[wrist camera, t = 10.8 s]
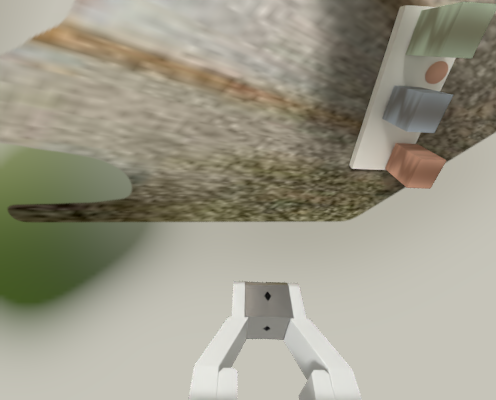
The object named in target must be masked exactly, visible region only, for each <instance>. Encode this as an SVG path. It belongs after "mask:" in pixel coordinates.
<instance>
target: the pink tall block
mask: <svg viewBox="0 0 496 400" xmlns="http://www.w3.org/2000/svg"><path fill="white" fill-rule="evenodd" d="M445 162H446V160H445V159H443V158H442V157H440V156H438V155H436V154H434V153H433V152H431V151H429V150H427V149H425V148H424V147H422V146H420V145H418V144H404V143H396V144H395V146H394V148H393V151H392V153H391V155H390V158H389V160H388V163H387V165H386V167H385V169H386V170H387V171H388V172H389V173H390V174H392V175H393V176H394V177H395V178H396V179H397V180H399V181H400V182H401V183H402V184H403V185H404V186H405V187H407V188H431V187H432V185H433V183H434V181H435V180H436V178H437V176H438V174H439V173H440V171H441V169H442V167H443V166H444V164H445Z"/></svg>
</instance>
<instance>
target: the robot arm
mask: <svg viewBox="0 0 496 400" xmlns="http://www.w3.org/2000/svg"><path fill="white" fill-rule="evenodd" d="M246 339H279V340H284V343H285V344H286V346H287V348H288V349H289V351H290V352H291V354H292V356H293V357H294V358H295V361H296V362H297V364H298V366H299V367H300V369H301V371H302V372H303V374H304V375H305V377H306V379H307V380H308V381H307V382H306V384H305V386H304V388H303V389H302V391H301V393H300V395H299V400H362V398H361V395H360V392H359V389H358V385H357V383H356V379H355V376H354V373H353V370H352V369H351V367H350V366H349V365H348V364H347V363H346V361H345V360H344V359H343V358H342V357H341V356H340V354H339V353H338V352H337V351H336V349H335V348H334V347H333V346H332V345H331V344H330V342H329V341H328V340H327V339H326V338H325V336H324V335H323V334H322V333H321V332H320V330H319V329H318V328H317V327H316V326H315V325H314V323H313V322H312V321H311V320H310V319H307V318H306V313H305V309H304V304H303V299H302V295H301V290H300V286H299V284H298V283H273V282H272V283H271V282H266V283H263V282H262V283H261V282H243V281H234V285H233V302H232V317H228V318H227V319H226V321H225V322H224V324H223V325H222V326H221V328H220V330H219V331H218V332H217V334H216V335H215V337H214V338H213V340H212V341H211V342H210V344H209V345H208V347H207V348H206V350H205V351H204V352H203V354H202V355H201V357H200V358H199V360H198V361H197V363H196V364H195V365H194V370H193V377H192V382H191V388H190V394H189V400H237V378H238V376H237V374H238V372H237V371H236V370H235V369H234V368H231V367H232V365H233V363H234V361H235V360H236V358H237V356H238V353H239V352H240V350H241V348H242V346H243V344H244V343H245V341H246Z"/></svg>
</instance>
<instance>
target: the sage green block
mask: <svg viewBox="0 0 496 400" xmlns="http://www.w3.org/2000/svg"><path fill="white" fill-rule="evenodd" d="M495 11H496V4H488V3H474V2H460V3H455V4H450V5H445V6H441V7H436V8H431V9H426V10H421V13H420V16H419V19H418V21H417V24H416V27H415V30H414V32H413V35H412V38H411V41H410V43H409V46H408V49H407V52H406V54H405V55H414V56H430V57H450V58H471V59H472V57H473V55H474V53H475V51H476V49H477V47H478V45H479V43H480V41H481V39H482V37H483V35H484V33H485V31H486V29H487V27H488V25H489V23H490V21H491V19H492V17H493V15H494V13H495Z"/></svg>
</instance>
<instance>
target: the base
mask: <svg viewBox="0 0 496 400" xmlns="http://www.w3.org/2000/svg"><path fill="white" fill-rule="evenodd" d="M431 8H436V7H425V6H411V5H405V6H401V7H400V8H399V11H398V14H397V17H396V21H395V24H394V27H393V30H392V33H391V36H390V39H389V42H388V45H387V49H386V52H385V55H384V58H383V61H382V64H381V67H380V70H379V73H378V77H377V80H376V83H375V86H374V89H373V92H372V95H371V98H370V102H369V105H368V108H367V111H366V114H365V117H364V120H363V123H362V126H361V130H360V133H359V136H358V139H357V142H356V145H355V148H354V151H353V154H352V158H351V161H350V164H349V166H350V167H351V168H352V169H371V170H386V169H385V167H386V165H387V163H388V160H389V158H390V155H391V153H392V151H393V148H394V146H395V144H396V143H404V144H416V142H417V140H418V138H419V135H420V133H421V132H407V131H405V130H403V129H401V128H399V127H397V126H395V125H393V124H391V123H389V122H387V121H385V120H383V119H382V118H383V115H384V112H385V109H386V107H387V104H388V101H389V98H390V96H391V93H392V90H393V87H394V86H411V87H422V88H426V89H431V90H435V91H439V92H440V91H441V89H442V86H443V84H444V82H445V80H446V78H447V76H448V74H449V72H450V69H451V67H452V65H453V63H454V61H455V59H456V58H450V57H430V56H414V55H405V54H406V52H407V49H408V46H409V43H410V41H411V38H412V35H413V32H414V30H415V27H416V24H417V21H418V19H419V16H420V13H421V10H426V9H431Z"/></svg>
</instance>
